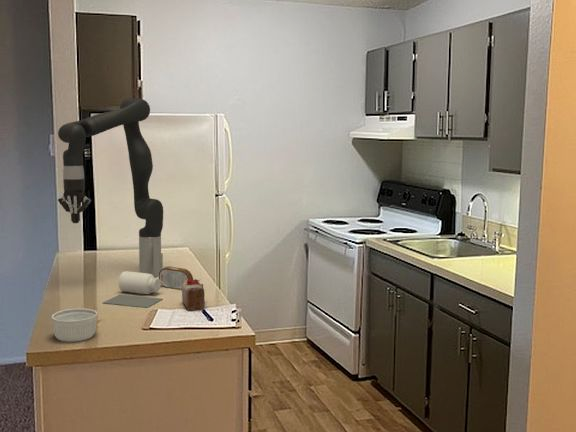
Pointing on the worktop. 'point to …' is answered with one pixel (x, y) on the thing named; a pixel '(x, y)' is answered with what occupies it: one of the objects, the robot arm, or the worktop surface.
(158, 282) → the pill bottle
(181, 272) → the tin
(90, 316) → the ramekin
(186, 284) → the food item
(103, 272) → the worktop surface
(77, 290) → the worktop surface
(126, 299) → the mat
